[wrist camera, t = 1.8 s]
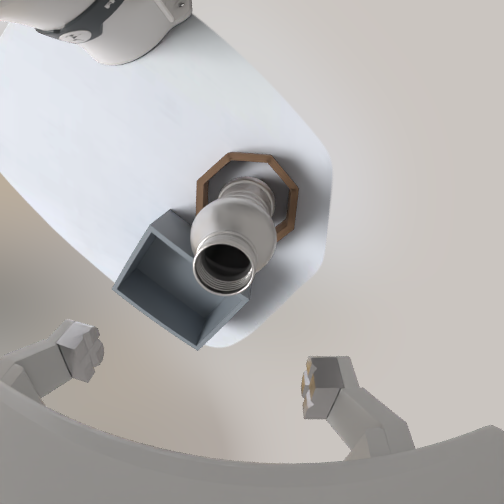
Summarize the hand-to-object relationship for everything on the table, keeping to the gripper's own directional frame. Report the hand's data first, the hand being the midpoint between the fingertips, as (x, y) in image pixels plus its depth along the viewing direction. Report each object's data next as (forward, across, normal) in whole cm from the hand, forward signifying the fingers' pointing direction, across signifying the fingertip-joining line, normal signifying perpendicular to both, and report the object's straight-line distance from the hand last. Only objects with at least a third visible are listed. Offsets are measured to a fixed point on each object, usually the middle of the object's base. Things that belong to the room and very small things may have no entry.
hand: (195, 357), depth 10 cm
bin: (+27, +8, +10) cm, 30 cm away
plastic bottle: (+27, 0, 0) cm, 27 cm away
